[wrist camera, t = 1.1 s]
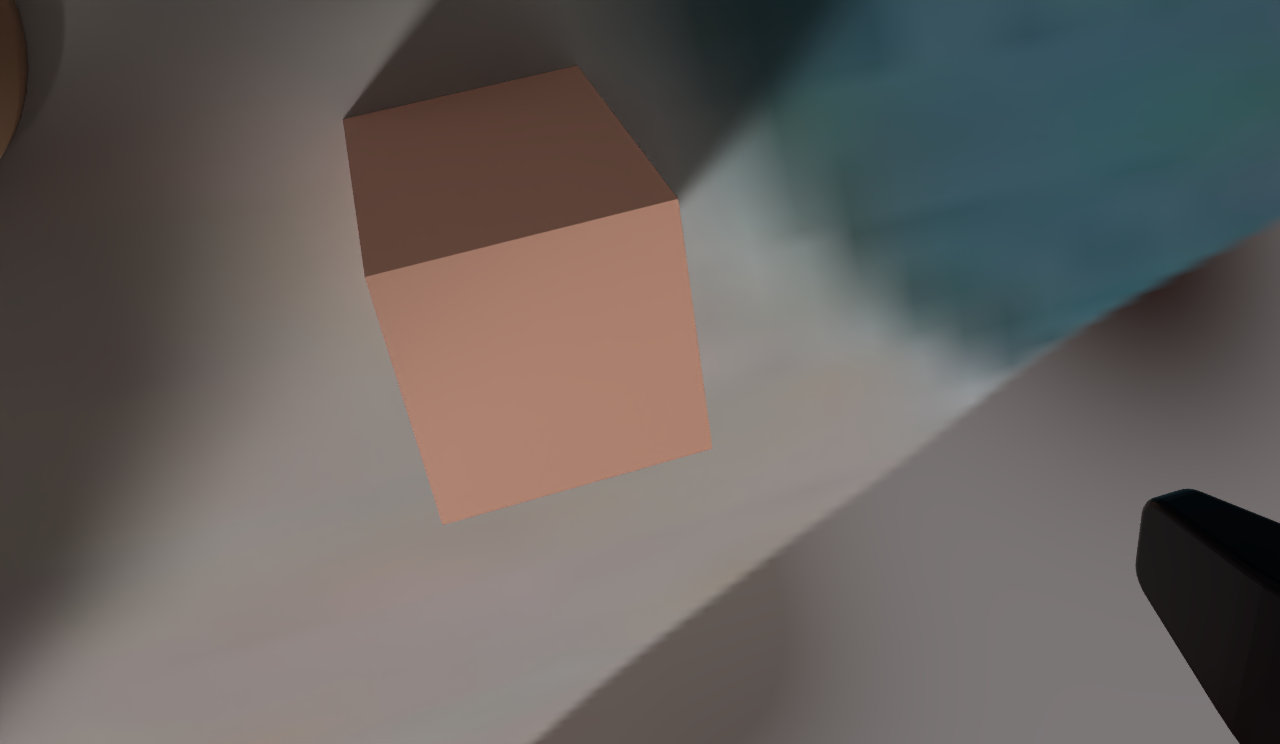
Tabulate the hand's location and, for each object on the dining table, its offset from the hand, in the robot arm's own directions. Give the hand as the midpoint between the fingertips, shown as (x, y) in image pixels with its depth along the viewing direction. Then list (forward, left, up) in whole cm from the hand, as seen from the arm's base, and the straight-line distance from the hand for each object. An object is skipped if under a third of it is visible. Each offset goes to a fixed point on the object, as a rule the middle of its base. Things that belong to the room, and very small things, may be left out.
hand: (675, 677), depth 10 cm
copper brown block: (-1, 0, -12) cm, 12 cm away
